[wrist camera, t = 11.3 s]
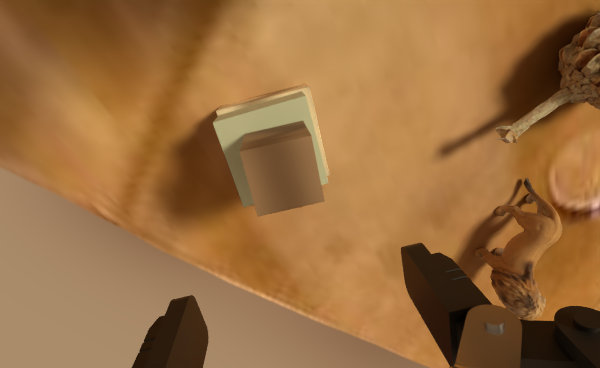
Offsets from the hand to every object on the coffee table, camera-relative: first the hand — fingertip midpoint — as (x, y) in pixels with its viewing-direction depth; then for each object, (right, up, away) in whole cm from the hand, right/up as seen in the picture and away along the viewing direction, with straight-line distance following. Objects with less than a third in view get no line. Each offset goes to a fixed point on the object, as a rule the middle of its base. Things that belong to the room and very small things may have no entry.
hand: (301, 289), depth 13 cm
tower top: (-3, +8, +20) cm, 22 cm away
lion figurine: (+26, -2, +31) cm, 40 cm away
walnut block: (-2, +7, +17) cm, 18 cm away
